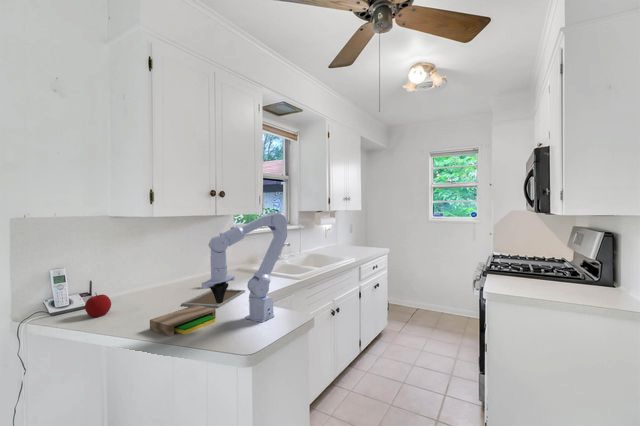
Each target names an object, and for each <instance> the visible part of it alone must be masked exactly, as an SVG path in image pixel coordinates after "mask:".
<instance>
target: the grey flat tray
mask: <svg viewBox="0 0 640 426" xmlns="http://www.w3.org/2000/svg"><path fill="white" fill-rule="evenodd" d="M244 293H246V289H233V288H229V289H228V288H227V289H226V292H225V295H224V298H223V303H220V304H219V303H216V300H215V297H214V294H213V292H212V290H211V289H210V290H208V291H206V292H204V293H202V294H199V295H197V296H195V297H192V298H190V299H188V300H185V301H184V302H182V303H181V305H180V306H181V307H191V306H194V305H200V306H204V307H209V308H214V309H220V308H221V307H222V306H224V305H226V304H228V303H229V302H231V301H233V300H234V299H236V298H238V297H240V296H242V295H243V294H244Z"/></svg>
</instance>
